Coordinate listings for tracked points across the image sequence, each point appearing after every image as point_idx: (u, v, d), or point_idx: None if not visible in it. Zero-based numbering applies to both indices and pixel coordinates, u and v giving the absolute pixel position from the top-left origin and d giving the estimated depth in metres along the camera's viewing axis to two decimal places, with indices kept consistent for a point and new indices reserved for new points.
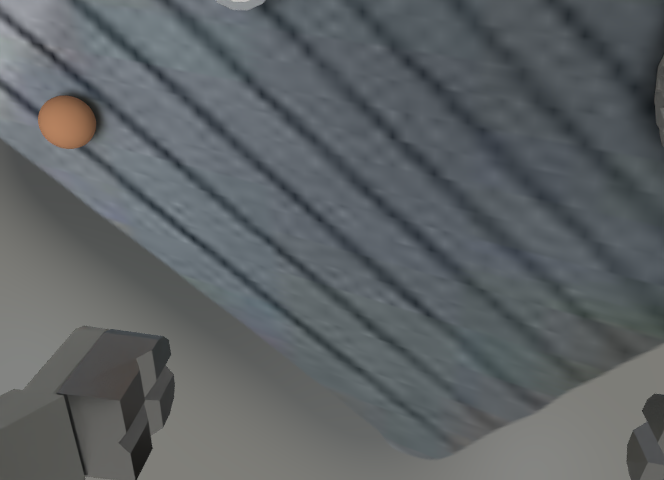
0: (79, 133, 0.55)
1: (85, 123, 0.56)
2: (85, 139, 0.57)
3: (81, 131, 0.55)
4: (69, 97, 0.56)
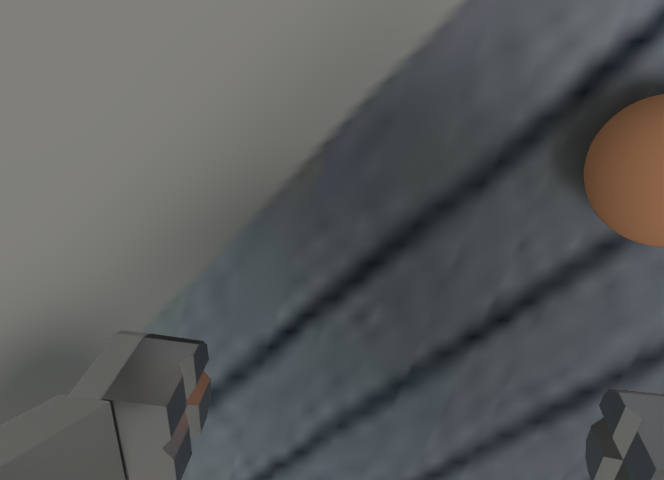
0: (652, 243, 0.19)
1: None
2: (614, 230, 0.20)
3: (653, 244, 0.19)
4: None
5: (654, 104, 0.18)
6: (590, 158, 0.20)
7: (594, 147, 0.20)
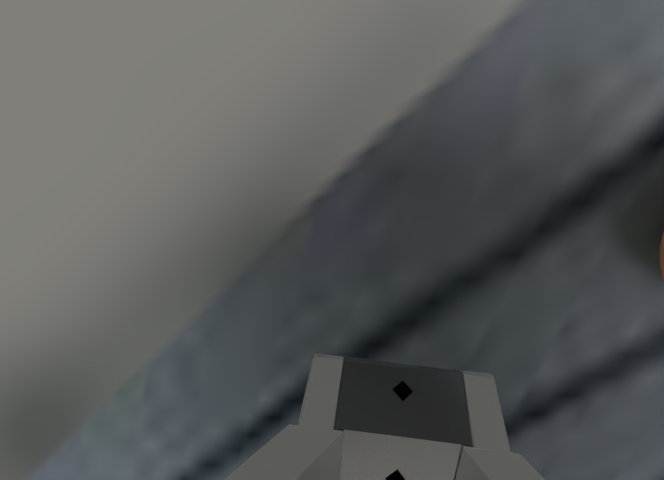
0: None
1: None
2: None
3: None
4: None
5: None
6: None
7: None
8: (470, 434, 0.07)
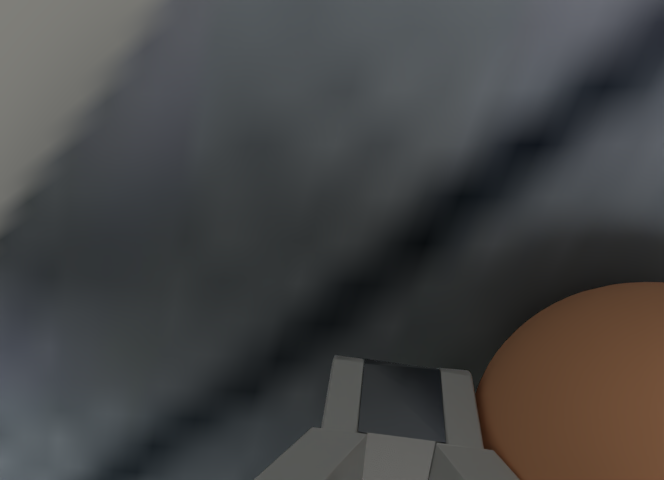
0: None
1: None
2: None
3: None
4: None
5: (655, 361, 0.06)
6: None
7: (499, 451, 0.07)
8: (444, 431, 0.07)
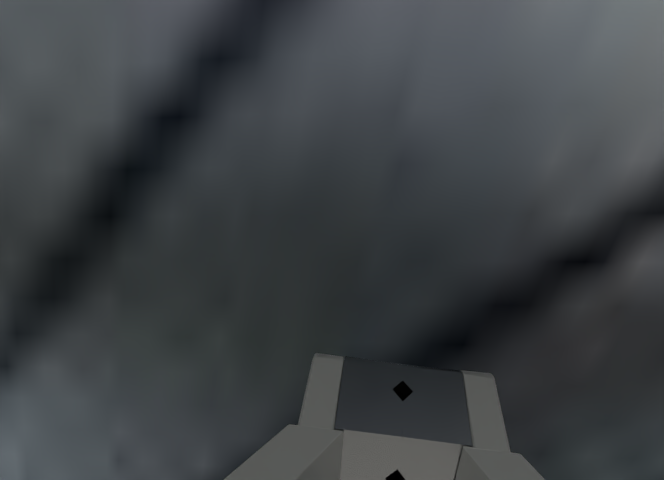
0: None
1: None
2: None
3: None
4: None
5: None
6: None
7: None
8: (470, 434, 0.07)
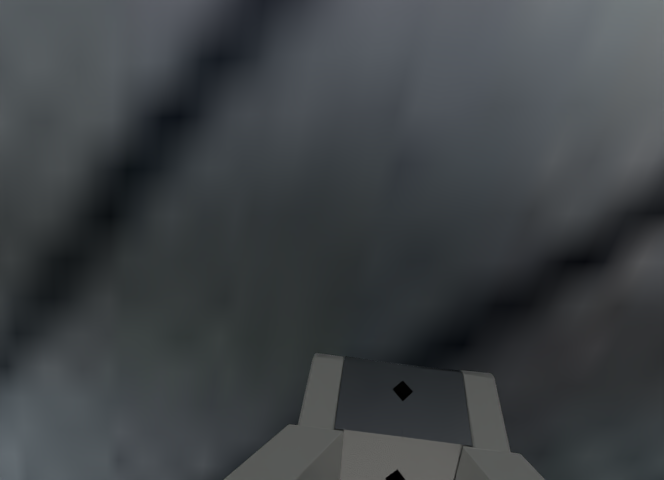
0: None
1: None
2: None
3: None
4: None
5: None
6: None
7: None
8: (470, 434, 0.07)
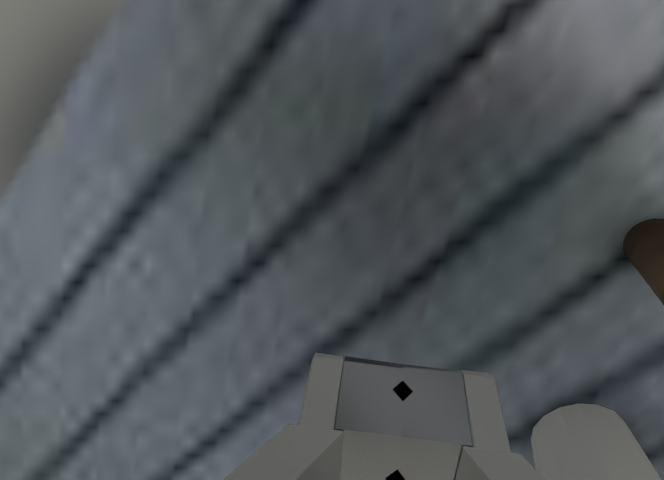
0: None
1: None
2: None
3: None
4: None
5: None
6: None
7: None
8: (470, 434, 0.07)
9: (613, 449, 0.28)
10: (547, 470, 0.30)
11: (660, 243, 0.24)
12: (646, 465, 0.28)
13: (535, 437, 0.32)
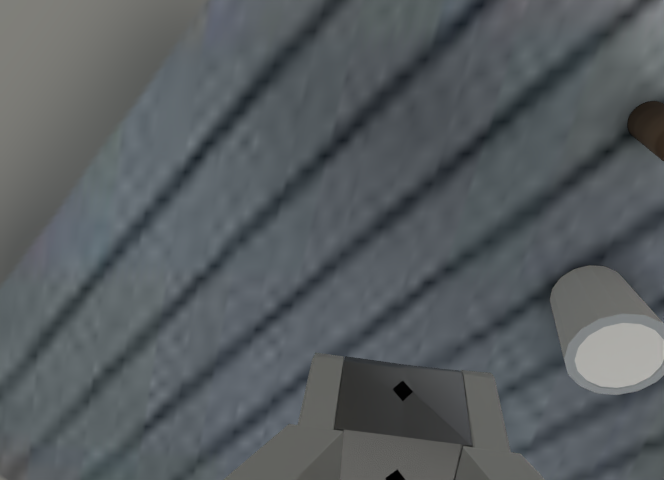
0: None
1: None
2: None
3: None
4: None
5: None
6: None
7: None
8: (470, 434, 0.07)
9: (616, 288, 0.37)
10: (564, 309, 0.38)
11: (655, 113, 0.32)
12: (641, 299, 0.36)
13: (554, 293, 0.41)
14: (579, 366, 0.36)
